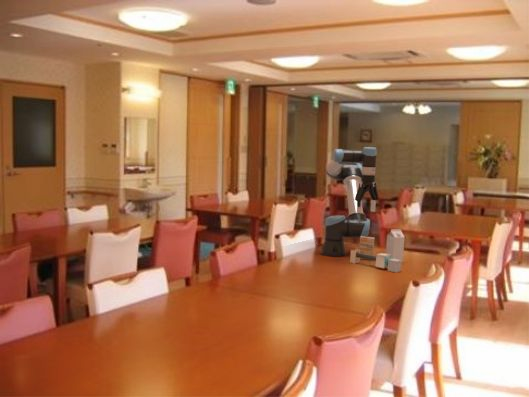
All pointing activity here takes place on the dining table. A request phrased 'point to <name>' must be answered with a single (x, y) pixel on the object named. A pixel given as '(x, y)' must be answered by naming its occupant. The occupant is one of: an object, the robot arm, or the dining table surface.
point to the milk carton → (395, 244)
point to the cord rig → (393, 264)
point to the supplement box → (366, 246)
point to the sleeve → (381, 260)
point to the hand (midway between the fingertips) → (366, 212)
